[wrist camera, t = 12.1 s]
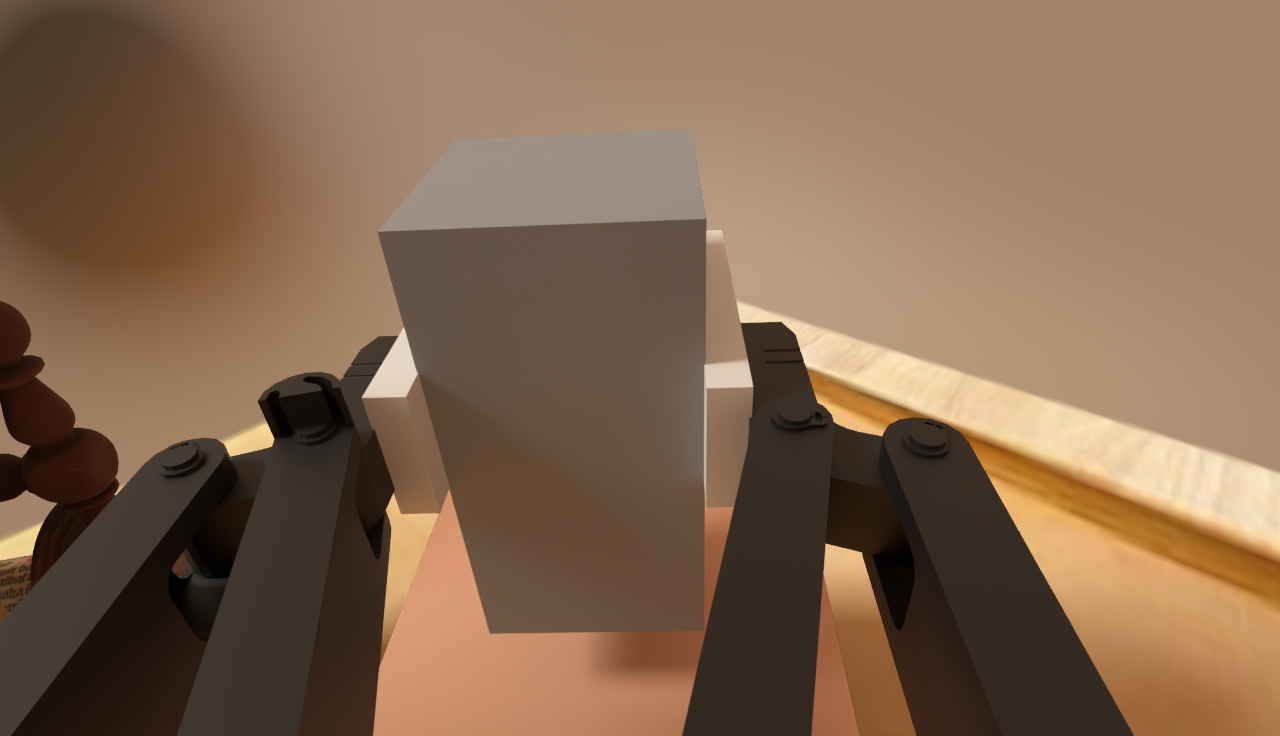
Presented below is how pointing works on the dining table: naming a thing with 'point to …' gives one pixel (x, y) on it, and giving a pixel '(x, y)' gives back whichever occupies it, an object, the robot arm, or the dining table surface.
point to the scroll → (47, 462)
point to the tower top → (555, 662)
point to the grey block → (565, 371)
